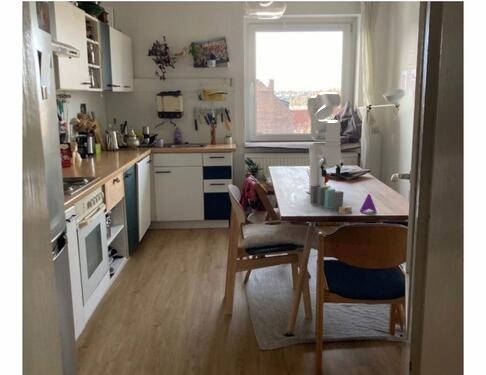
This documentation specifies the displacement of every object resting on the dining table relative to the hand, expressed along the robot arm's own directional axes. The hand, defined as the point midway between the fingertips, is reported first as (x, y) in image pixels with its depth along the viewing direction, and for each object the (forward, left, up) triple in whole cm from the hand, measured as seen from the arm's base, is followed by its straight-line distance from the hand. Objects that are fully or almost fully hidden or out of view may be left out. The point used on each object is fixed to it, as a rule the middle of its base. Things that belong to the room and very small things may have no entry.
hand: (330, 175), depth 240 cm
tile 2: (0, -6, -18) cm, 19 cm away
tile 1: (0, -13, -18) cm, 22 cm away
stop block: (0, +13, -18) cm, 22 cm away
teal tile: (0, 0, -18) cm, 18 cm away
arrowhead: (-12, +17, -18) cm, 27 cm away
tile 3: (0, +7, -18) cm, 19 cm away
